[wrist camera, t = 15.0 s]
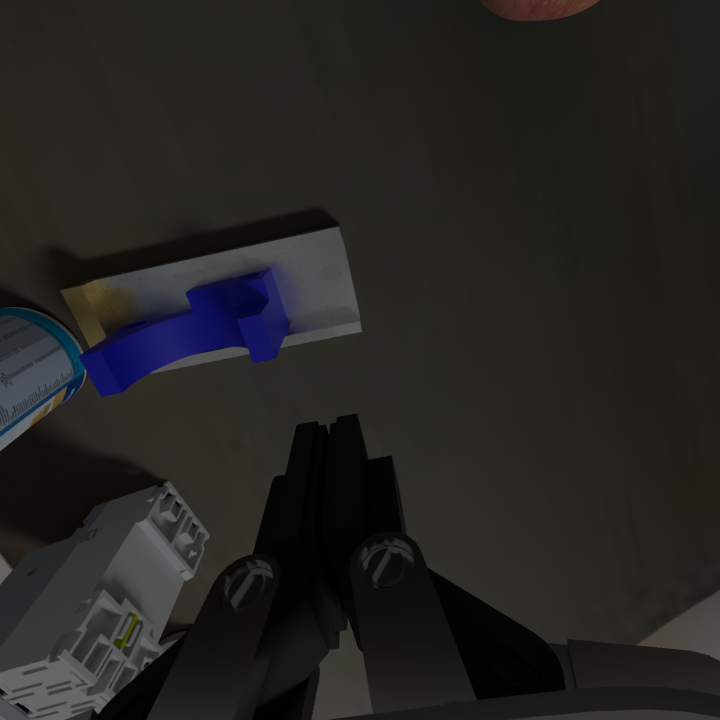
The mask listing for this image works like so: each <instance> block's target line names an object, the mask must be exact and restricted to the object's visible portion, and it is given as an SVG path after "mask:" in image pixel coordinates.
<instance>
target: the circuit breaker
mask: <svg viewBox="0 0 720 720" xmlns="http://www.w3.org/2000/svg"><path fill="white" fill-rule="evenodd" d="M163 485H164V486H163V487H160V488H158V486H157V485H155V486H152V487H149V488H146V489H143V490H140V491H137V492H135V493H132V494H129V495H126V496H123V497H120V498H117V499H114V500H111V501H108V502H105V503H102V504H99V505H97V506H95V507H94V508H93V509H92V510H91V512H90V513H89V514H88V516H87V517H86V518H85V519H84V521H83V522H84V524H85V526H84V527H83V528H82V529H81V528H77V530H76V531H75V532H74V534H73V535H72V536H71V537H70V538H68V539H65V540H62V541H59V542H56V543H53V544H50V545H47V546H44V547H41V548H38V549H35V550H32V551H30V552H28V553H27V554H26V556H25V557H24V558H23V559H22V560H21V561H20V562H19V564H18V565H17V566H16V567H15V568H14V569H13V571H12V572H11V573H10V574H9V575H8V576H7V578H6V579H5V580H4V581H3V582H2V583H1V585H0V715H1V716H2V717H3V718H5V719H6V720H65V719H68V718H70V717H73V716H75V715H78V714H80V713H83V712H85V711H88V710H90V709H94V710H95V711H96V712H97V713H100V711H101V710H102V709H103V707H104V706H105V705H106V704H107V703H108V702H109V701H110V700H111V699H112V698H113V697H114V696H115V695H116V694H117V693H118V692H119V691H120V690H122V689H123V688H124V687H125V686H126V685H127V684H128V683H130V682H131V681H132V680H133V679H134V678H135V677H136V676H137V675H139V674H140V673H141V672H142V669H143V667H144V664H145V663H147V662H150V661H152V662H153V661H155V660H156V659H157V658H158V657H159V656H160V655H161V654H163V652H164V649H163V648H162V647H161V646H160V645H159V644H158V642H159V640H160V637H161V635H162V632H163V630H164V628H165V625H166V623H167V620H168V618H169V616H170V613H171V611H172V609H173V606H174V604H175V601H176V599H177V597H178V594H179V592H180V589H181V587H182V585H183V582H184V580H186V581H187V580H189V579H191V578H192V577H194V574H195V572H196V569H197V567H198V564H199V562H200V559H201V557H202V554H203V552H204V549H205V548H204V547H203V544H204V542H205V539H209V537H210V535H209V533H208V532H207V531H206V529H205V528H204V527H203V525H202V524H201V523H200V521H199V520H198V519H197V518H196V516H195V515H194V514H193V512H192V511H191V510H190V508H189V507H188V506H187V504H186V503H185V502H184V500H183V499H182V498H181V496H180V495H179V494H178V492H177V491H176V490H175V488H174V487H173V486H172V484H171V483H170V482H169V481H167V482H165V483H164V484H163ZM168 492H169V493H170V494H171V496H168V497H166V495H167V493H168ZM175 501H177V502H178V503H179V505H180V506H178V505H177V504H176V503H175ZM182 510H183V511H182ZM192 522H193V523H194V524H195V526H193V525H192ZM196 554H197V555H196ZM192 555H196V557H195V559H191V560H190V557H191V556H192Z"/></svg>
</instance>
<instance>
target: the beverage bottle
mask: <svg viewBox="0 0 720 720" xmlns="http://www.w3.org/2000/svg"><path fill="white" fill-rule="evenodd" d="M83 353H84V352H83V350H82V348H81V346H80V344H79V342H78V341H77V339H76V338H75V337H74V336H73V334H72V333H71V332H70V331H69V330H68V329H67V328H66V327H65V326H63V325H62V324H61V323H59V322H58V321H57V320H55V319H53V318H52V317H50V316H48V315H46V314H44V313H41V312H38V311H35V310H32V309H27V308H20V307H9V308H2V309H0V451H1V450H2V449H3V448H5V447H6V446H7V445H8V444H10V443H11V442H12V441H13V440H15V439H16V438H17V437H18V436H20V435H21V434H22V433H23V432H25V431H26V430H27V429H29V428H30V427H31V426H32V425H34V424H35V423H36V422H37V421H39V420H40V419H41V418H42V417H44V416H45V415H46V414H48V413H49V412H50V411H51V410H53V409H54V408H55V407H57V406H59V405H60V404H62V403H64V402H65V401H67V400H68V399H69V398H71V397H72V396H73V395H74V394H76V393H77V392H78V390H79V389H80V388H81V386H82V385H83V383H84V380H85V377H86V372H87V371H86V369H85V367H84V366H83V364H82V362H81V360H80V359H79V357H78V356H80V355H81V354H83Z"/></svg>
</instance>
